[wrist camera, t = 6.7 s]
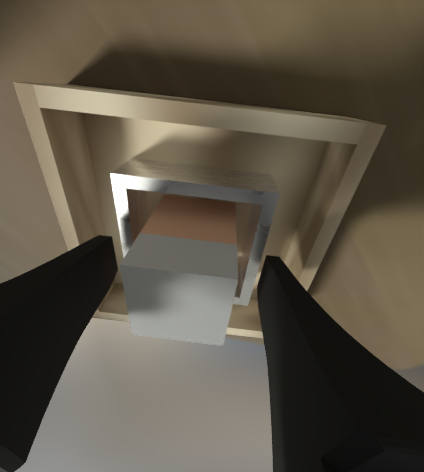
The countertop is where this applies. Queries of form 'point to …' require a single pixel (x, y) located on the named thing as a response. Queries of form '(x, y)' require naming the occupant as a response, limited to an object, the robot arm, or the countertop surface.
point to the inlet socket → (198, 185)
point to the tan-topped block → (183, 271)
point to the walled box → (199, 154)
